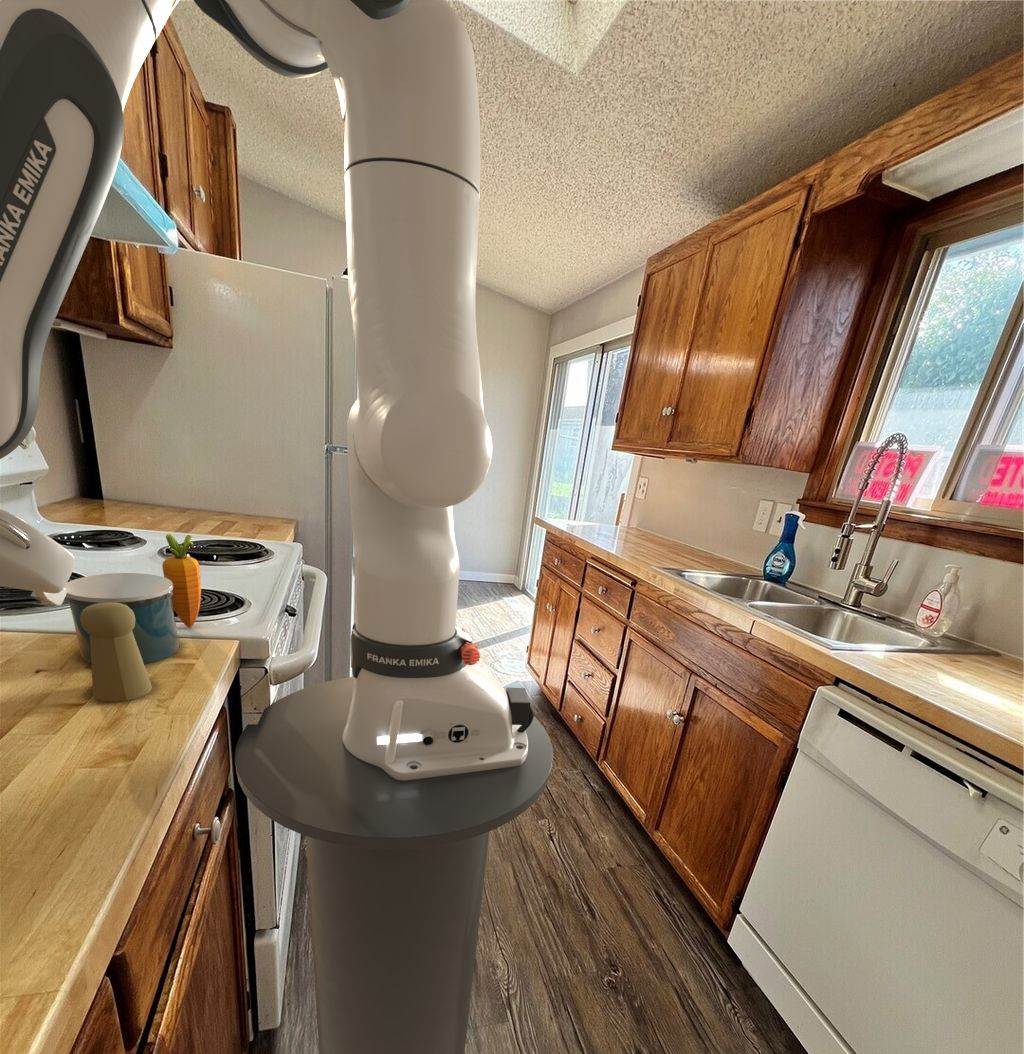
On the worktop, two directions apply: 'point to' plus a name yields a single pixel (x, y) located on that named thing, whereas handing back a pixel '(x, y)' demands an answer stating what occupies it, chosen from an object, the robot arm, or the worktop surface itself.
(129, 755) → the worktop surface
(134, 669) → the tan pepper shaker
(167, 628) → the pot
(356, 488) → the robot arm
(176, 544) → the carrot
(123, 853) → the worktop surface
